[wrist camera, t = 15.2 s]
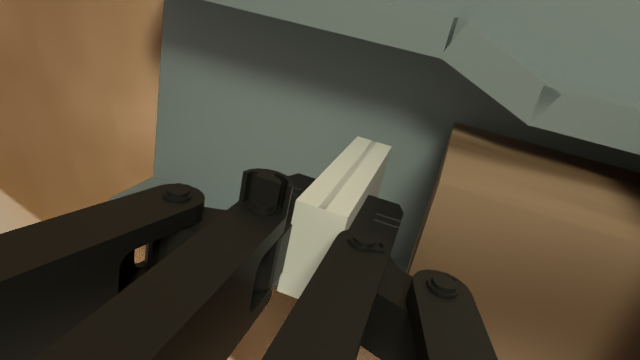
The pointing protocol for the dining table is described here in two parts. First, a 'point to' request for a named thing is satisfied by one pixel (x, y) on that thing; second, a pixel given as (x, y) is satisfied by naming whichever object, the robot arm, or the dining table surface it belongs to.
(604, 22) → the grey grooved base
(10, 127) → the dining table surface
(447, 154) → the brown rectangular block
